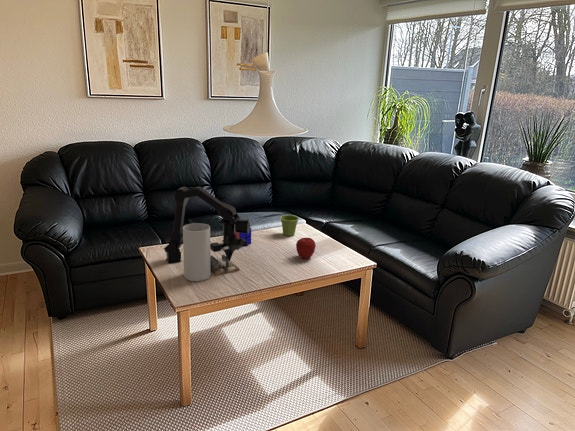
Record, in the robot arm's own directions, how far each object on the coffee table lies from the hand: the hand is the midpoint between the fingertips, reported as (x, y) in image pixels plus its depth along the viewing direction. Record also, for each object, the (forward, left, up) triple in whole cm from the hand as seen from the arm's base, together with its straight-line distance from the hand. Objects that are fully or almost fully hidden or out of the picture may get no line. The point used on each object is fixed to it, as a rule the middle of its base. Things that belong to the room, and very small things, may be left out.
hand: (228, 260), depth 217 cm
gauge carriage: (-4, -2, -2) cm, 5 cm away
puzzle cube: (+19, +28, -4) cm, 34 cm away
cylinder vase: (-18, -4, -4) cm, 19 cm away
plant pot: (+54, +29, -4) cm, 62 cm away
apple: (+42, -7, -4) cm, 43 cm away
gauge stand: (-4, -1, -4) cm, 5 cm away
